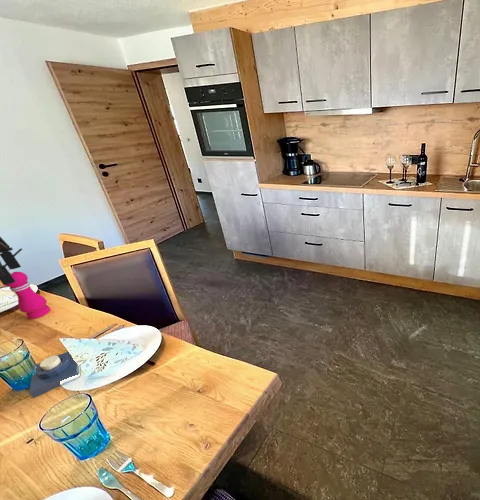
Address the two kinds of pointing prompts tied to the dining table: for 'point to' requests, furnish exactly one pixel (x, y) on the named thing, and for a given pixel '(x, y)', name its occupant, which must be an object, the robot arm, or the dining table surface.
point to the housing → (53, 375)
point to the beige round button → (50, 363)
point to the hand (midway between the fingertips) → (13, 275)
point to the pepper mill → (27, 296)
